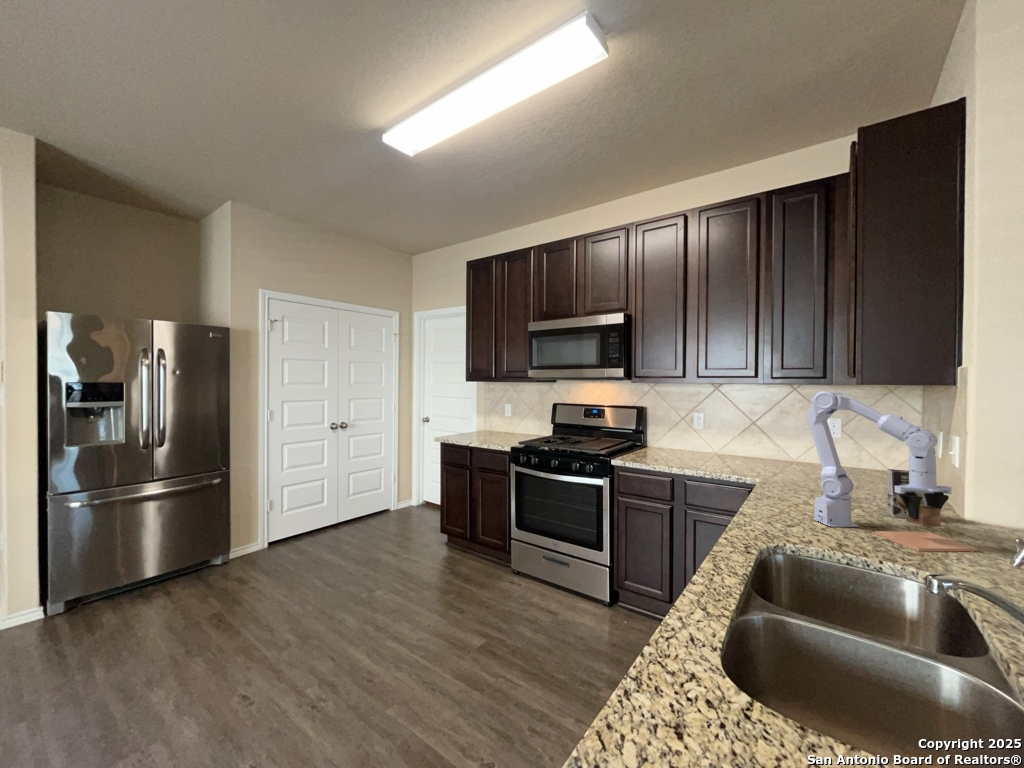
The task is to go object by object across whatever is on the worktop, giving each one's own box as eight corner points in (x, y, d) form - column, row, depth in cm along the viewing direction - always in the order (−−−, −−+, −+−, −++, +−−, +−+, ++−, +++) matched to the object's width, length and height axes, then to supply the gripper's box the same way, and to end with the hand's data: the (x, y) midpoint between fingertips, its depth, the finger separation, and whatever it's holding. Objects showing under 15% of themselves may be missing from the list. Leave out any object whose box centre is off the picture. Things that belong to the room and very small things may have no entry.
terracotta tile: (918, 551, 114) (918, 548, 115) (875, 533, 128) (875, 531, 129) (978, 551, 114) (978, 548, 114) (928, 534, 128) (928, 531, 128)
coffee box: (893, 517, 145) (892, 471, 146) (887, 513, 151) (886, 468, 151) (928, 521, 141) (927, 473, 141) (920, 516, 147) (920, 470, 147)
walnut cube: (922, 526, 119) (922, 508, 119) (906, 521, 124) (906, 504, 124) (940, 526, 119) (940, 509, 119) (923, 521, 124) (923, 504, 124)
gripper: (909, 473, 118) (910, 522, 118) (962, 474, 118) (963, 522, 117) (887, 469, 125) (888, 514, 125) (937, 469, 125) (938, 515, 124)
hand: (923, 518), depth 121 cm, fingers closed on walnut cube, 5 cm apart
